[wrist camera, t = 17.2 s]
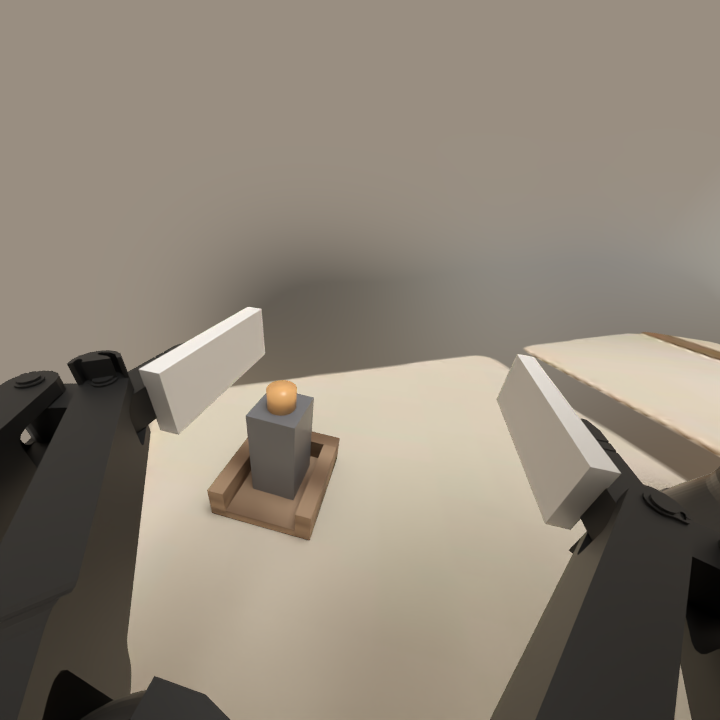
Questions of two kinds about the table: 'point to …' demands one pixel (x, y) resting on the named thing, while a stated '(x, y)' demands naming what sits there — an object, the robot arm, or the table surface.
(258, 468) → the connector plug
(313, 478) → the holder
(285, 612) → the table surface
